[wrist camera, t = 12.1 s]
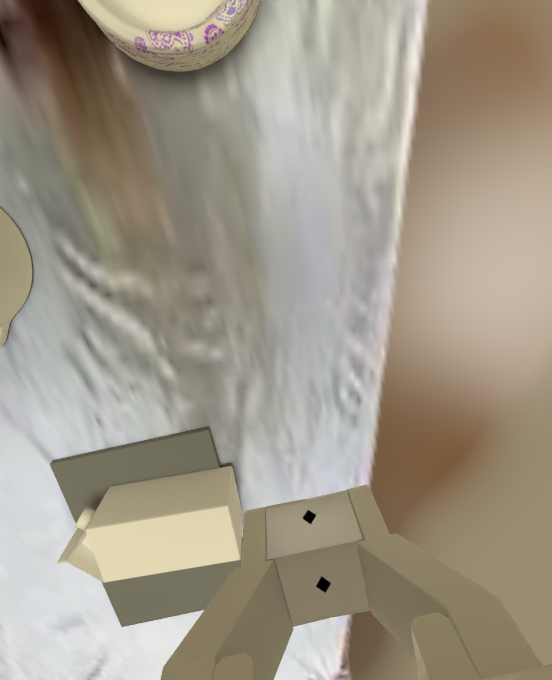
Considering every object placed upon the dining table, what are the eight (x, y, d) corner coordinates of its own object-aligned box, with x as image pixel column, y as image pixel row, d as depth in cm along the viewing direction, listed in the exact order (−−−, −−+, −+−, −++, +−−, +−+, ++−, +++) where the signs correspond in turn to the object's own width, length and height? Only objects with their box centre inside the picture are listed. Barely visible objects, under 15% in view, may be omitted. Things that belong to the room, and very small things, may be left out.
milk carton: (242, 560, 42) (67, 589, 42) (244, 513, 49) (94, 538, 49) (229, 505, 40) (46, 536, 40) (233, 464, 47) (77, 491, 47)
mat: (123, 621, 54) (121, 626, 53) (53, 460, 47) (49, 464, 46) (258, 593, 54) (258, 598, 53) (209, 426, 46) (208, 429, 45)
